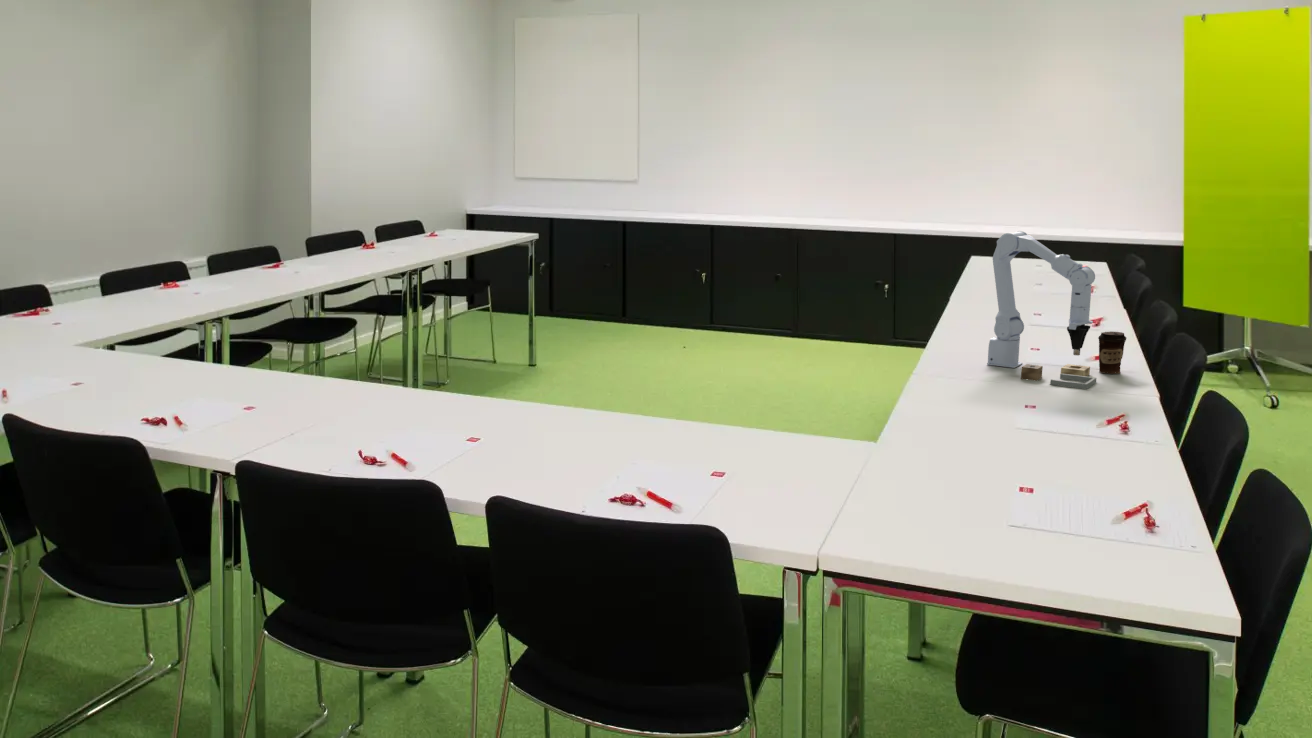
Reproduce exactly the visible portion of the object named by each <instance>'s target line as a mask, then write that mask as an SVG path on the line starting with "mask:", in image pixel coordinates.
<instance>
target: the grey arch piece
mask: <svg viewBox="0 0 1312 738" xmlns="http://www.w3.org/2000/svg"><path fill="white" fill-rule="evenodd" d="M1059 379H1062V380H1059ZM1059 379H1050V383H1049V385H1051V386H1057V387H1058V386H1061V387H1066V388H1074V389H1075V388H1076V389H1081V388H1082V390H1088V389H1089V388H1090V387H1092V386H1093V385H1095V384H1096V383H1097V379H1098V378H1097V377H1093V376H1078V375H1070V374H1061V373H1060V374H1059ZM1066 380H1068V381H1066ZM1075 381H1076V382H1075ZM1084 381H1085V382H1084ZM1083 382H1084V383H1083Z"/></svg>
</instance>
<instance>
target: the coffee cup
mask: <svg viewBox="0 0 1312 738" xmlns="http://www.w3.org/2000/svg"><path fill="white" fill-rule="evenodd" d="M1097 339H1098V367H1099V369H1098V370H1099V373H1102V374H1109V375H1110V374H1111V375H1113V374H1114V375H1115V374H1116V375H1117V374H1121V365H1122V359H1123V357H1124V350H1125V343H1126V341H1127V337H1126V336H1125V333H1124V332H1122V331H1121V332H1119V331H1105V332H1101V333H1100V335H1099V336H1098V337H1097Z"/></svg>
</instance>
